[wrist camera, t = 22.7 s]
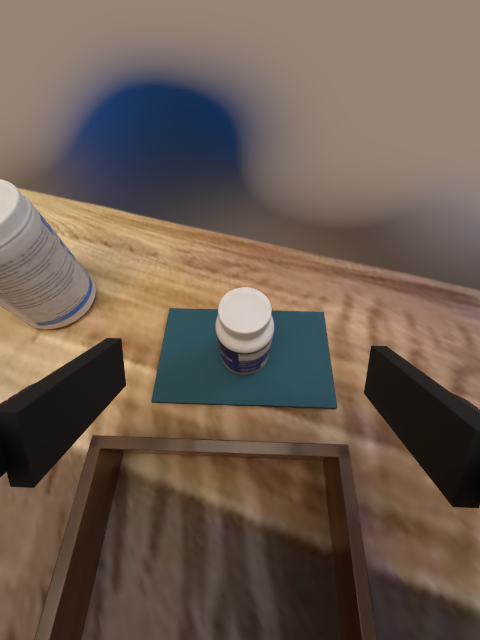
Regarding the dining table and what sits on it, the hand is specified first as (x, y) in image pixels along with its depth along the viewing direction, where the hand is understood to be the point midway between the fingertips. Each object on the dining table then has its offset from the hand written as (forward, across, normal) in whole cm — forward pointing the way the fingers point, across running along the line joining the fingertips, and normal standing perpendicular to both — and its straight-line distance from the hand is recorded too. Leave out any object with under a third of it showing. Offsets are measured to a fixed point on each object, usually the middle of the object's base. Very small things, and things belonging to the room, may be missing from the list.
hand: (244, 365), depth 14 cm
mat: (+17, 0, -6) cm, 18 cm away
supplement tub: (+22, -25, -2) cm, 33 cm away
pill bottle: (+17, 0, -6) cm, 18 cm away
